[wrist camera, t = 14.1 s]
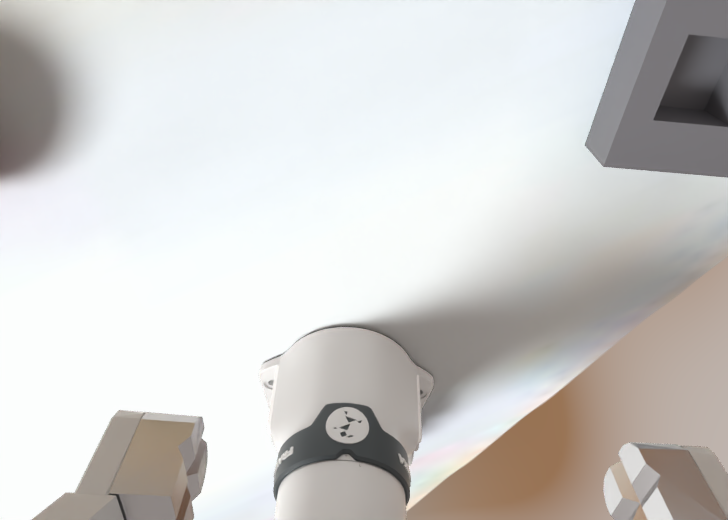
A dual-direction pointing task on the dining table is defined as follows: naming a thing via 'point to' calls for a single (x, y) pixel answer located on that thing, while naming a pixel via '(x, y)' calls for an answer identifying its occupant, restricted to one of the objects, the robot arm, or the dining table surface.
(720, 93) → the power strip
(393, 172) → the dining table surface
